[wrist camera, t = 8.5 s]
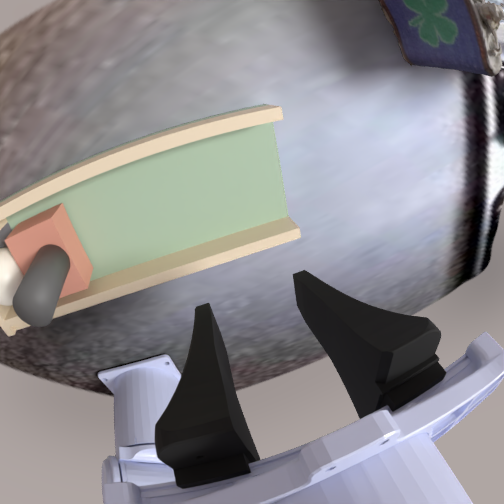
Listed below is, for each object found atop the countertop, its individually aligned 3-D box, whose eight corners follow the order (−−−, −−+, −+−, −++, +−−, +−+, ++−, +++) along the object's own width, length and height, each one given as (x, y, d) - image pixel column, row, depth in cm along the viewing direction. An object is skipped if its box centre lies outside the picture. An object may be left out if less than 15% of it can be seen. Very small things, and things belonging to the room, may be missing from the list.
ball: (37, 274, 19) (43, 295, 16) (1, 301, 17) (2, 326, 14) (14, 231, 17) (14, 245, 14) (-25, 259, 15) (-30, 278, 12)
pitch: (284, 220, 24) (303, 241, 21) (19, 309, 20) (8, 336, 17) (264, 104, 19) (284, 107, 16) (-32, 220, 15) (-53, 241, 12)
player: (93, 267, 19) (76, 339, 14) (50, 283, 19) (25, 353, 13) (62, 202, 17) (24, 258, 11) (18, 223, 16) (-27, 282, 10)
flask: (361, -27, 14) (467, -53, 6) (384, -31, 14) (486, -50, 5) (406, 69, 20) (514, 86, 11) (425, 60, 19) (527, 76, 11)
